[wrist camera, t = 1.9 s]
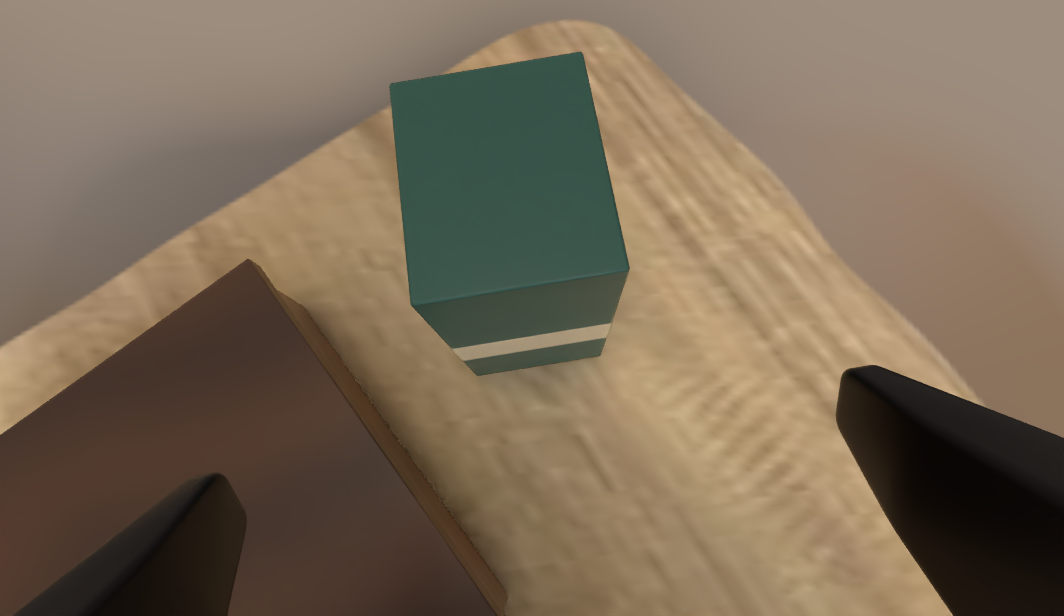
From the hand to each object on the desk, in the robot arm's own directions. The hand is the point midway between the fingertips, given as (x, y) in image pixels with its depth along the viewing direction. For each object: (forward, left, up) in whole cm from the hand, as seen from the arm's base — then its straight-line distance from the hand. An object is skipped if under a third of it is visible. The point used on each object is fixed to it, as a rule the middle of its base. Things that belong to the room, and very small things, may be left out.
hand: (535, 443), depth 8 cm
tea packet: (+4, -5, -13) cm, 15 cm away
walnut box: (+8, +8, -13) cm, 18 cm away
